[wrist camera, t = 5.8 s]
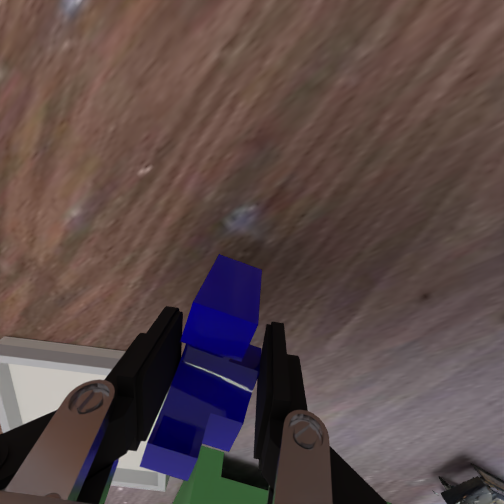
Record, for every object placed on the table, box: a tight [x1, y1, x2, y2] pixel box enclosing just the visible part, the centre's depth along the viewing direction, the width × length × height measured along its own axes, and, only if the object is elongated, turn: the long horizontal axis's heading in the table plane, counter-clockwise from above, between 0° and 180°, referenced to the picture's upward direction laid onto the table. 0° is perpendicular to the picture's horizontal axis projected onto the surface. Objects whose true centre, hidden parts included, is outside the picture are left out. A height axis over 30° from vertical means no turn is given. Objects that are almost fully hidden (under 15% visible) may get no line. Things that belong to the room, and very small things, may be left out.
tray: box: [0, 336, 170, 492], centre depth 25 cm, size 16×16×2 cm
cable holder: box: [139, 254, 262, 481], centre depth 11 cm, size 8×4×4 cm, turn 160°
